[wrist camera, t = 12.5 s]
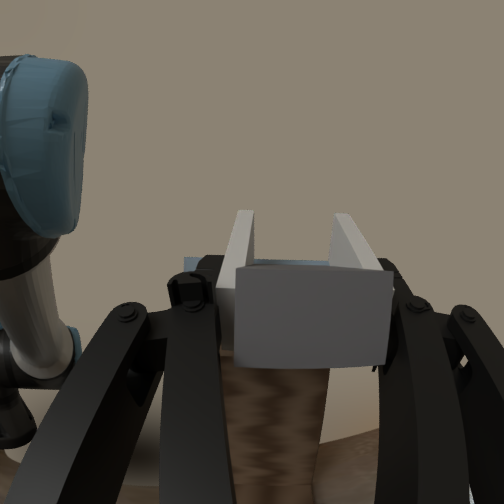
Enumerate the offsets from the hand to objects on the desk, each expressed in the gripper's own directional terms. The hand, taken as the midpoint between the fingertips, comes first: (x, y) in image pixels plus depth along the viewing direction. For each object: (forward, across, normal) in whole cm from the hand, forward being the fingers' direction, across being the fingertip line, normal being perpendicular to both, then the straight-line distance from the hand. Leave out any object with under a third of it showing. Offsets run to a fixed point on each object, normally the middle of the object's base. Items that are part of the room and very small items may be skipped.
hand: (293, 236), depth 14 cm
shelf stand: (-4, 0, -40) cm, 40 cm away
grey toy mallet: (-1, 0, -4) cm, 4 cm away
